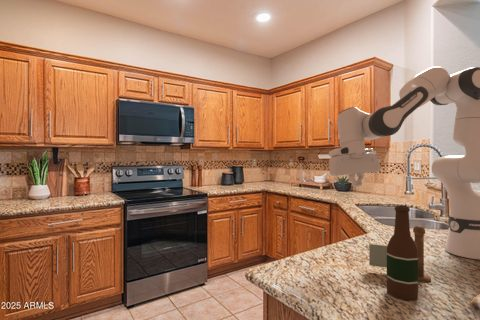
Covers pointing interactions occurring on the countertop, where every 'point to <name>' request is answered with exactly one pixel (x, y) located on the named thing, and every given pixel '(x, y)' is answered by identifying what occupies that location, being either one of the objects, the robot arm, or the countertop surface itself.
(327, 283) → the countertop surface
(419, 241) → the post
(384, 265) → the flap
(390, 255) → the beer bottle
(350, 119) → the robot arm
